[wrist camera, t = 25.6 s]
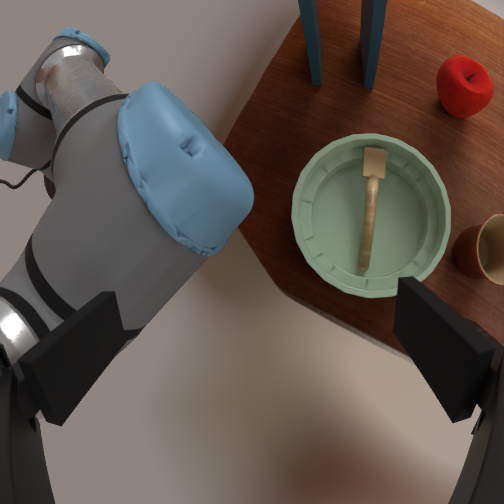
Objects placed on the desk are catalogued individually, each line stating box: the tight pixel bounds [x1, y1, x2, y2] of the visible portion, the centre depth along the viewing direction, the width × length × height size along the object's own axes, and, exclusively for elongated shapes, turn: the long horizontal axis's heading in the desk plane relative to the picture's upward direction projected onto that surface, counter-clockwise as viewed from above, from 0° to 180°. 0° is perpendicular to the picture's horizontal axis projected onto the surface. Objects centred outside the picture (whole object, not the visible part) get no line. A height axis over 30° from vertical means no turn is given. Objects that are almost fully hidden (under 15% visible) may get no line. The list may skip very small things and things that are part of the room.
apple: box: [437, 55, 494, 118], centre depth 34 cm, size 9×9×11 cm
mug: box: [454, 213, 504, 286], centre depth 33 cm, size 12×9×10 cm
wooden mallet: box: [358, 147, 386, 272], centre depth 39 cm, size 17×3×2 cm, turn 172°
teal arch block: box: [298, 0, 387, 89], centre depth 31 cm, size 10×11×28 cm
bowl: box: [291, 134, 451, 298], centre depth 39 cm, size 21×21×7 cm
